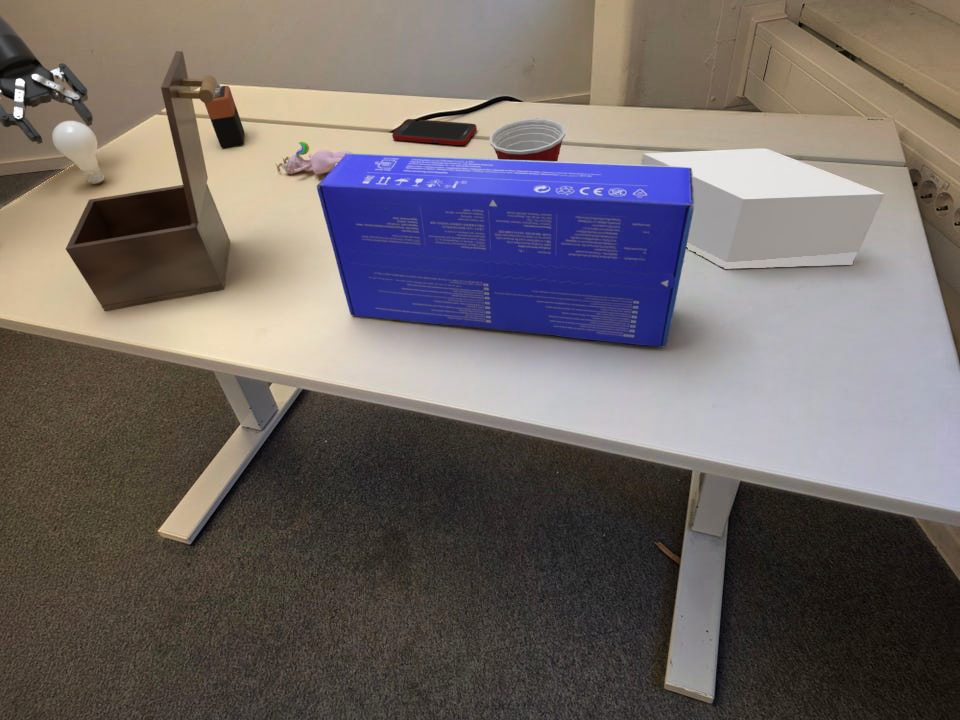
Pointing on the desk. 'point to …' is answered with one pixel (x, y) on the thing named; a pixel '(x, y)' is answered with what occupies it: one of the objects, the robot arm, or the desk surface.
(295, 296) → the desk surface
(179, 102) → the chest lid
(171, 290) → the chest
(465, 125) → the cell phone
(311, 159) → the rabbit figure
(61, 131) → the lightbulb
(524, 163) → the blue cardboard box
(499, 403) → the desk surface
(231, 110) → the battery
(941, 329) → the desk surface
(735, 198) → the white box
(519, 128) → the plastic cup
